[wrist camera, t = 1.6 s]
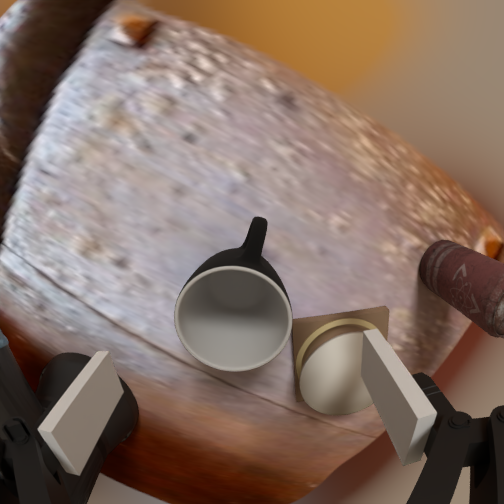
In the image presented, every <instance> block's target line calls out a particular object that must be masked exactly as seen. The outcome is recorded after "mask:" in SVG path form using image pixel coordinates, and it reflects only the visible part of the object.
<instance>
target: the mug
mask: <svg viewBox="0 0 504 504" xmlns="http://www.w3.org/2000/svg"><path fill="white" fill-rule="evenodd" d="M266 231H267V220H266V219H264V218H262V217H254V218H253V220H252V223H251V225H250V228H249V231H248V234H247V237H246V239H245V241H244V243H243V245H242V246H241V247H239V248H234V249H228V250H224V251H221V252H219V253H217V254H215V255H214V256H212V257H210V258H209V259H208V260H206V261H205V262H204V263H203V264H202V265H201V266H200V267H199V268H198V269H197V270H196V271H195V272H194V273H193V274H192V276H191V277H190V278H189V279H188V281H187V282H186V284H185V285H184V287H183V288H182V290H181V292H180V294H179V296H178V299H177V302H176V305H175V311H174V322H175V328H176V332H177V334H178V337H179V339H180V341H181V342H182V344H183V346H184V347H185V348H186V350H187V351H188V352H189V353H190V354H191V355H192V356H193V357H195V358H196V359H197V360H199V361H200V362H202V363H204V364H206V365H207V366H210V367H212V368H215V369H219V370H223V371H232V372H239V371H247V370H252V369H255V368H258V367H260V366H262V365H265V364H266V363H268V362H270V361H271V360H272V359H274V358H275V357H276V356H277V355H278V354H279V353H280V352H281V351H282V349H283V348H284V347H285V345H286V343H287V341H288V339H289V337H290V334H291V330H292V322H293V316H292V309H291V304H290V301H289V298H288V295H287V292H286V290H285V288H284V285H283V283H282V281H281V279H280V278H279V276H278V274H277V273H276V271H275V270H274V268H273V267H272V266H271V265H270V264H269V263H268V261H266V260H265V259H264V258H263V257H262V256H261V253H262V248H263V244H264V240H265V236H266Z"/></svg>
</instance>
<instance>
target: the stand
mask: <svg viewBox="0 0 504 504" xmlns="http://www.w3.org/2000/svg"><path fill="white" fill-rule="evenodd" d="M388 322H389V309H388V308H387V307H386V306H382V307H376V308H370V309H363V310H357V311H350V312H343V313H336V314H329V315H322V316H314V317H306V318H298V319H293V322H292V340H293V356H294V372H295V391H296V400H297V402H300V401H305V402H306V403H307V404H308V405H309V406H310V407H311V408H313V409H314V410H316V411H318V412H320V413H324V414H328V415H346V414H351V413H355V412H358V411H361V410H363V409H365V408H367V407H369V406H370V405H372V404H373V403H374V402H373V400H372V398H371V396H370V394H369V392H368V390H367V388H366V386H365V383H364V381H363V379H362V377H361V375H360V374H361V361H362V344H363V331H366V330H372V329H378V330H379V332H380V333H381V334H382V336H383V337H384V338H385V340H386V341H387V336H388ZM388 344H389V343H388ZM389 345H390V344H389ZM390 347H391V345H390ZM391 348H392V347H391ZM392 349H393V348H392ZM393 351H394V350H393Z"/></svg>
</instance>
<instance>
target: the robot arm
mask: <svg viewBox="0 0 504 504" xmlns="http://www.w3.org/2000/svg"><path fill="white" fill-rule="evenodd" d="M360 375H361V377H362V379H363V381H364V383H365V386H366V388H367V390H368V392H369V394H370V396H371V398H372V400H373V402H374V404H375V406H376V408H377V410H378V413H379V415H380V417H381V419H382V421H383V423H384V425H385V427H386V430H387V432H388V434H389V436H390V438H391V440H392V443H393V445H394V447H395V449H396V451H397V454H398V456H399V458H400V460H401V462H402V465H403V466H405V465H408V464H411V463H414V462H417V461H420V460H421V457H422V455H423V452H425V454H426V456H427V461H426V463H425V465H424V468H423V470H422V472H421V474H420V477H419V479H418V481H417V483H416V485H415V487H414V489H413V491H412V493H411V495H410V498H409V500H408V501H407V503H406V504H450V502H451V499H452V497H453V494H454V491H455V488H456V485H457V482H458V479H459V476H460V473H461V470H462V467H468V466H470V500H469V504H504V405H503V406H498V407H496V408H495V409H493V411H492V413H491V415H490V417H484V418H476V419H472V418H471V416H469V415H468V414H467V413H464V412H459V411H456V410H455V409H454V408H453V407H452V405H451V404H450V402H449V401H448V400H447V398H446V397H445V396H444V394H443V393H442V392H440V389H439V388H438V387H437V386H436V384H435V383H434V381H433V380H432V379H431V378H430V377H429V376H427V375H425V374H424V373H422V372H421V373H417V374H413V375H411V374H410V373H409V371H408V370H407V369H406V367H405V366H404V364H403V363H402V362H401V360H400V359H399V358H398V356H397V355H396V353H395V352H394V351H393V349H392V348H391V347H390V345H389V344H388V342H387V341H386V340H385V338H384V337H383V336H382V334H381V333H380V332H379V330H378V329H372V330H366V331H363V344H362V361H361V374H360ZM137 419H138V406H137V403H136V400H135V398H134V396H133V394H132V392H131V390H130V389H129V387H128V386H127V385H126V384H125V382H124V381H123V380H122V379H121V378H120V377H119V376H118V375H117V372H116V369H115V367H114V364H113V361H112V358H111V355H110V352H109V351H97V352H96V354H95V355H94V356H93V357H92V358H91V357H89V356H86V355H83V354H78V353H62V354H59V355H57V356H55V357H54V358H53V359H52V360H51V361H50V362H49V363H48V364H47V365H46V366H45V367H44V369H43V371H42V373H41V376H40V381H39V385H38V387H37V390H36V392H35V394H34V392H33V390H32V389H31V387H30V385H29V384H28V382H27V380H26V378H25V377H24V375H23V373H22V371H21V369H20V368H19V366H18V364H17V362H16V360H15V358H14V356H13V354H12V352H11V350H10V348H9V346H8V340H7V338H6V337H5V336H4V335H3V334H2V332H1V330H0V504H87V502H88V499H89V497H90V494H91V492H92V489H93V487H94V485H95V482H96V480H97V477H98V475H99V473H100V470H101V468H102V466H103V463H104V461H105V459H106V457H107V455H108V454H109V453H110V452H111V451H112V450H113V449H114V448H115V447H116V446H117V445H118V444H119V443H120V442H122V441H124V440H125V439H126V438H128V437H129V436H130V434H131V433H132V431H133V429H134V427H135V424H136V422H137Z"/></svg>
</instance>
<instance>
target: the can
mask: <svg viewBox="0 0 504 504" xmlns="http://www.w3.org/2000/svg"><path fill="white" fill-rule="evenodd" d="M420 272H421V278H422V281H423V283H424V284H425V285H426V286H427V287H428V288H429V289H430V290H431V291H433V292H434V293H436V294H437V295H438V296H440V297H441V298H442V299H444V300H445V301H446V302H448V303H449V304H450V305H452V306H453V307H454V308H456V309H457V310H458V311H460V312H461V313H462V314H464V315H465V316H466V317H468V318H469V319H470V320H472V321H473V322H474V323H476V324H477V325H478V326H479V327H481V328H482V329H483V330H484V331H486V332H487V333H488V334H489V335H491V336H494V337H501V338H504V264H503V263H501V262H499V261H497V260H494V259H492V258H490V257H488V256H485V255H483V254H481V253H478V252H476V251H473V250H471V249H469V248H466V247H464V246H461V245H459V244H457V243H454V242H452V241H449V240H441V241H438V242H435V243H434V244H433V245H431V246H430V247H429V248H428V249H427V251H426V252H425V253H424V256H423V258H422V261H421V267H420Z"/></svg>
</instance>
